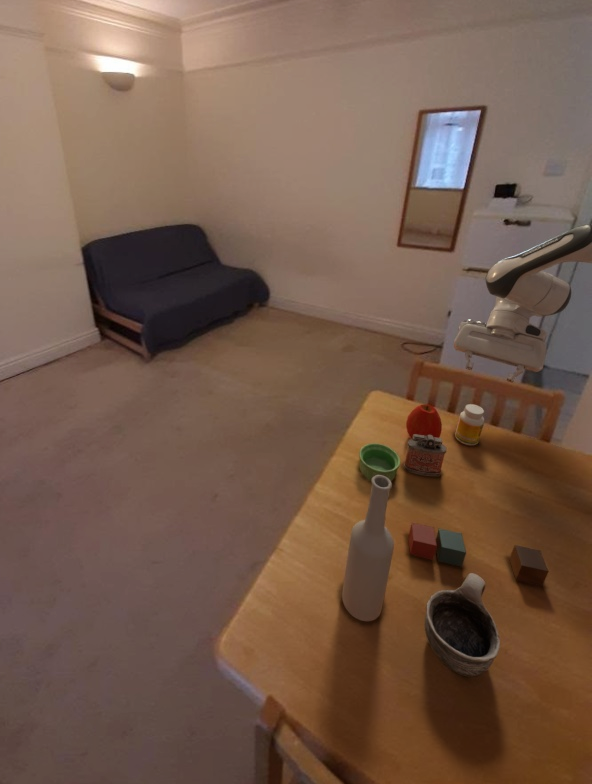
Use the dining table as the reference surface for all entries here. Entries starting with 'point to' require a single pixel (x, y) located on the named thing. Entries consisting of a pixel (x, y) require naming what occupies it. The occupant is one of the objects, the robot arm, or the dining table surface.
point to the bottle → (369, 557)
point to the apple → (424, 421)
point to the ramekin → (378, 461)
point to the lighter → (425, 455)
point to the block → (450, 547)
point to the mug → (462, 628)
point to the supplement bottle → (470, 425)
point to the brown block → (528, 565)
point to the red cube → (422, 541)
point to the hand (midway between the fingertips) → (488, 375)
